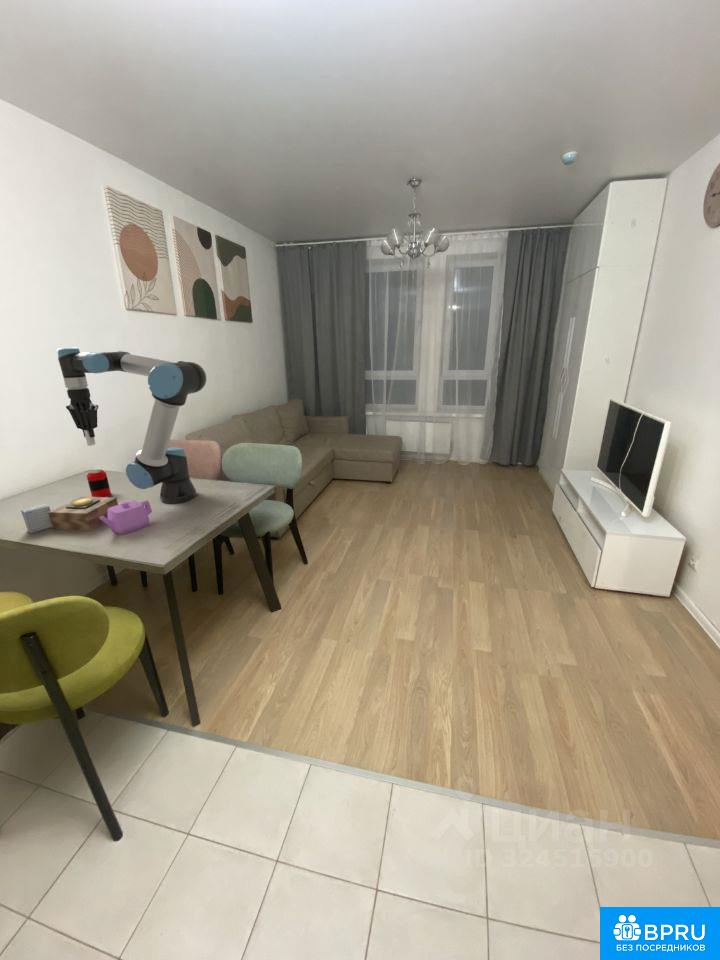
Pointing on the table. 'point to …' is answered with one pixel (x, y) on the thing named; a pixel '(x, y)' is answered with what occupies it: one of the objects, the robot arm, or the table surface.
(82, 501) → the peg
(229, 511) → the table surface
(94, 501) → the socket
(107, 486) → the soda can
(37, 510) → the medicine box
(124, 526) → the teapot
